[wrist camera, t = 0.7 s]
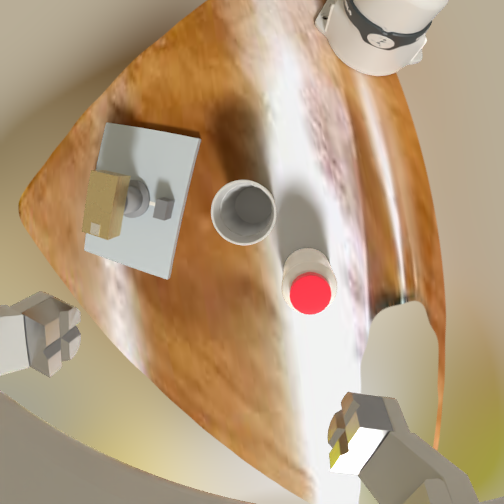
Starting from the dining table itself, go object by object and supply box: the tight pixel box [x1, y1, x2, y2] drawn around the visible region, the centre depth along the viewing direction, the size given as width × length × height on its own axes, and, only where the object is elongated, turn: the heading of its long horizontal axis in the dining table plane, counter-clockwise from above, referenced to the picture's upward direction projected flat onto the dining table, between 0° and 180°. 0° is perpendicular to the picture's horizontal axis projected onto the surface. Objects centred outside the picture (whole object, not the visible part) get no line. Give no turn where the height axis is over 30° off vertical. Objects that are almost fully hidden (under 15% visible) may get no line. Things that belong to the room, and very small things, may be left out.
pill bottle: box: [282, 248, 337, 314], centre depth 46 cm, size 8×8×11 cm
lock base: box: [84, 123, 201, 280], centre depth 48 cm, size 24×18×7 cm
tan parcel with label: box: [82, 170, 131, 240], centre depth 42 cm, size 9×5×5 cm, turn 165°
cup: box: [211, 180, 277, 245], centre depth 44 cm, size 8×8×12 cm
